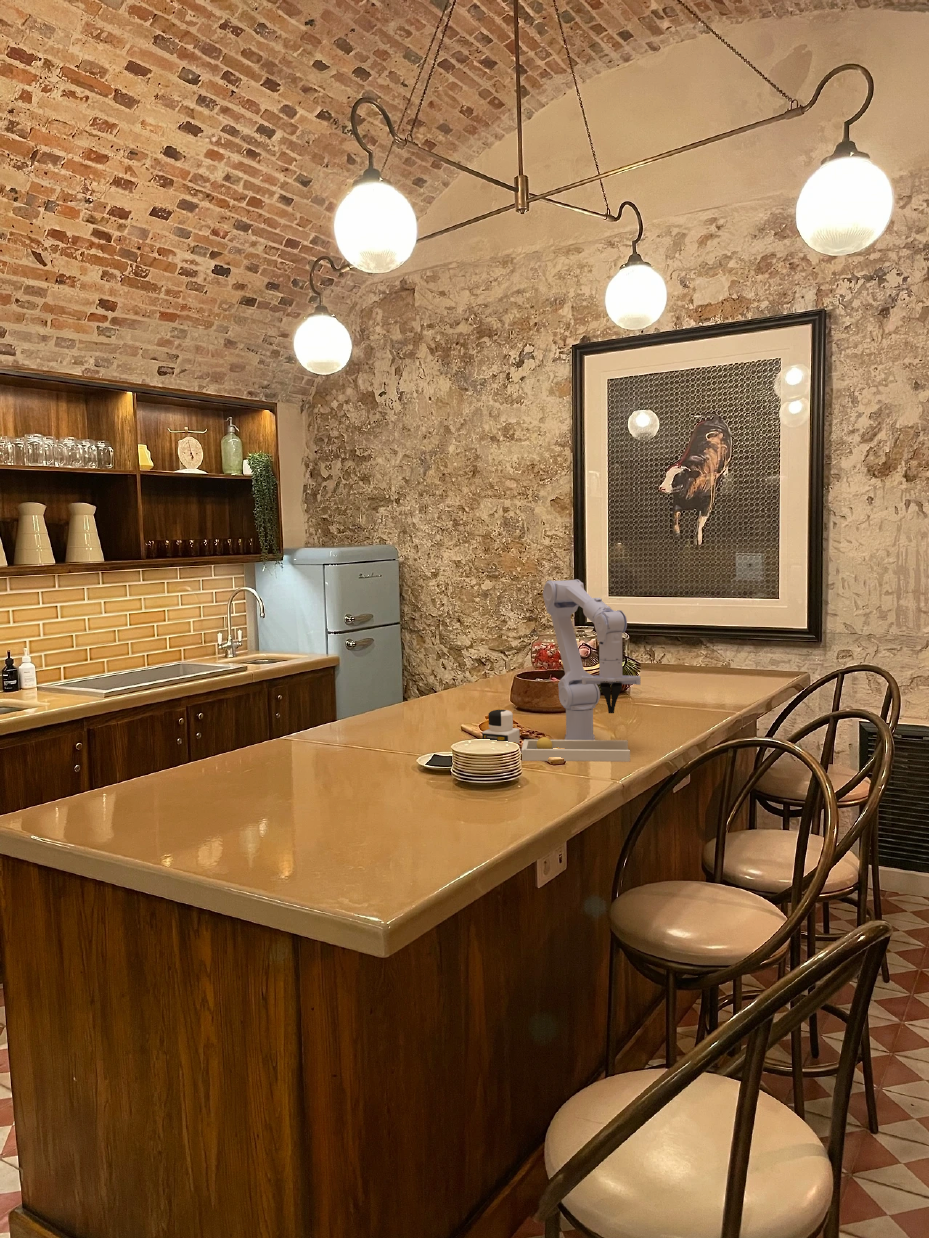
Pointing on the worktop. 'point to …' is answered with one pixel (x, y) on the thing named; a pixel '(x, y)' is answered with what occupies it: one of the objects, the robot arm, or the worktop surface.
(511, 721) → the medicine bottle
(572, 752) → the lane
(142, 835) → the worktop surface
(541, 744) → the ball
